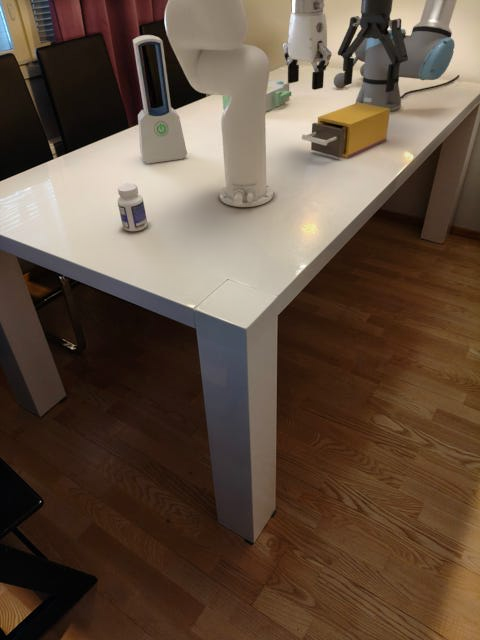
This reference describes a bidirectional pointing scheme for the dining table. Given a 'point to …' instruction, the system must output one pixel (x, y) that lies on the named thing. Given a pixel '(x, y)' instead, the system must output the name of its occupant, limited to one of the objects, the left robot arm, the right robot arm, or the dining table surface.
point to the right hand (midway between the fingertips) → (367, 87)
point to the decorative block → (271, 95)
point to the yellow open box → (360, 126)
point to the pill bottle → (131, 208)
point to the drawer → (328, 138)
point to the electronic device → (157, 113)
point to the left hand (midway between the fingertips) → (305, 85)
